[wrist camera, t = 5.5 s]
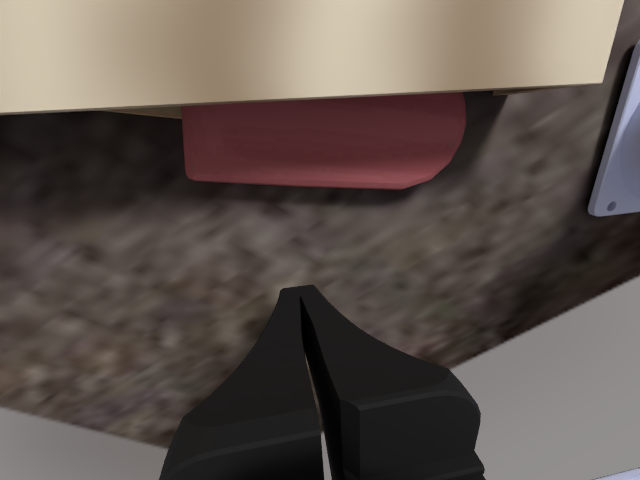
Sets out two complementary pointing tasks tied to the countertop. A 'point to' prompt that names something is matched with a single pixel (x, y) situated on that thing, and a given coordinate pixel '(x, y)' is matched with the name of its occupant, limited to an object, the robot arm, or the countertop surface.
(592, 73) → the rail
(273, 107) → the popsicle
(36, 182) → the countertop surface
